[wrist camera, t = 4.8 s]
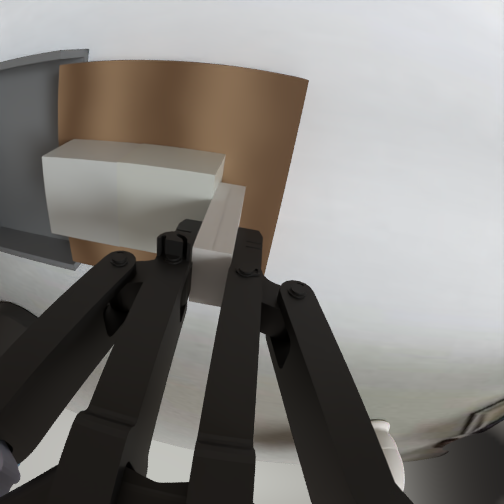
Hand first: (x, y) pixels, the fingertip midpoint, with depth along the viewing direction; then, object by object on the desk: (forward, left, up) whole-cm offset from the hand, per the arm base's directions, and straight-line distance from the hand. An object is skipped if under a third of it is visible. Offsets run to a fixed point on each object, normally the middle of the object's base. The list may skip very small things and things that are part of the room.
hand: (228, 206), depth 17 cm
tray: (-18, 0, -5) cm, 19 cm away
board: (-5, 0, -5) cm, 7 cm away
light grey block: (-8, 0, -1) cm, 8 cm away
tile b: (-3, 0, -1) cm, 3 cm away
